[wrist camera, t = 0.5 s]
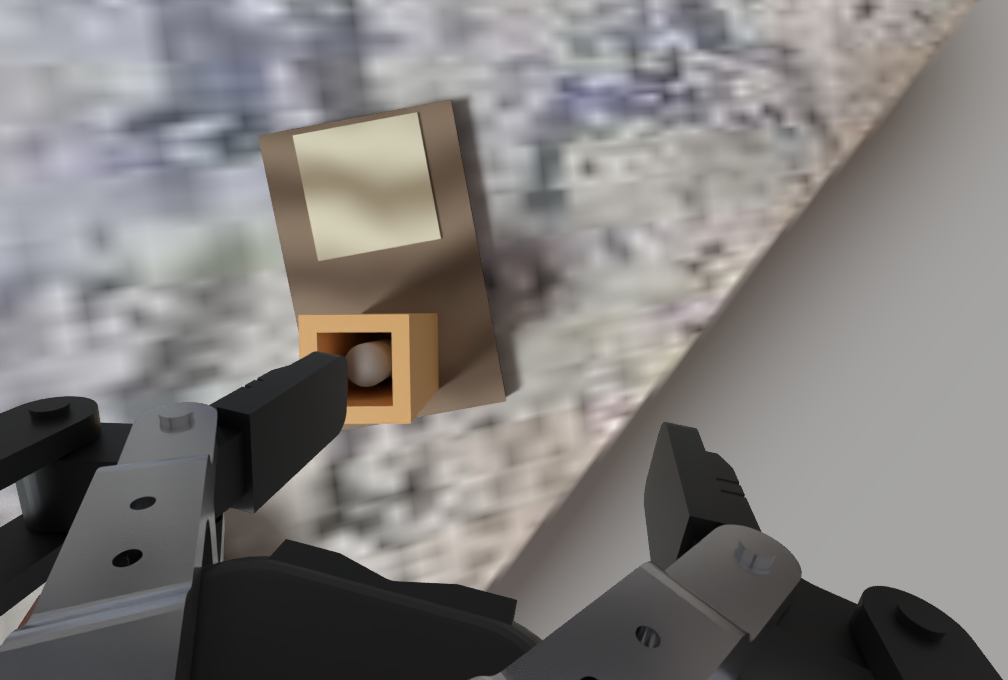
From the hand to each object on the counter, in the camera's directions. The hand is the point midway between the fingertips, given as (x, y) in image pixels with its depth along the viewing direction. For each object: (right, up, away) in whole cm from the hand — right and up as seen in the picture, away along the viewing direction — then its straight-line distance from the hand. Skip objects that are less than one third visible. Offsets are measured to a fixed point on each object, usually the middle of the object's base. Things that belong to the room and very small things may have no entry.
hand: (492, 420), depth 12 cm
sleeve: (-7, +1, +24) cm, 25 cm away
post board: (-8, +7, +25) cm, 27 cm away
